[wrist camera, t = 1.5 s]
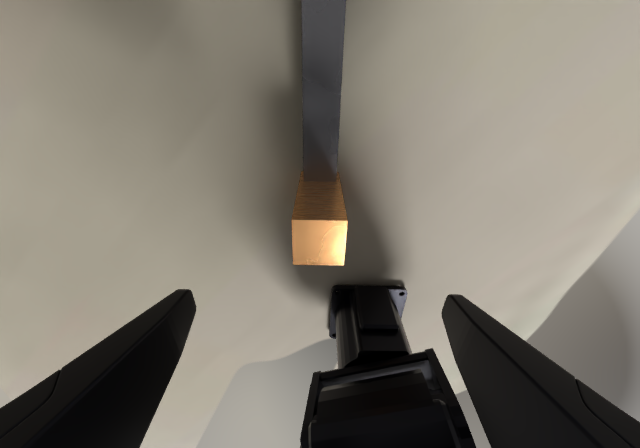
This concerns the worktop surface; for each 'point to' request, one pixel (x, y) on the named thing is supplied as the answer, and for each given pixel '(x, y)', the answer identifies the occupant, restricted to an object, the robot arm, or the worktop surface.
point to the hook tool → (320, 138)
